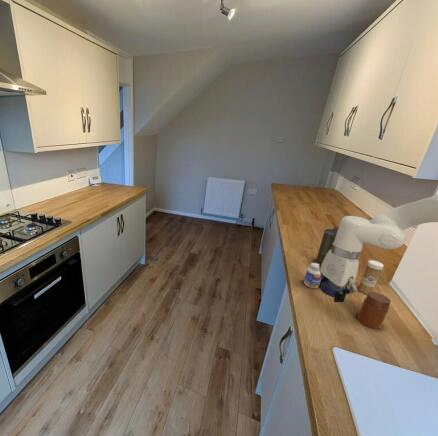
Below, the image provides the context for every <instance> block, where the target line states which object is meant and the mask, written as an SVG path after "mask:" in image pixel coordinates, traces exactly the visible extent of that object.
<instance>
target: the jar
mask: <svg viewBox="0 0 438 436" xmlns="http://www.w3.org/2000/svg"><path fill="white" fill-rule="evenodd" d="M366 294H367V293H366ZM391 303H392V301H391V299H390V298H389V297H388V296H386V295H384V294H382V293H379V292H376V291H372V292H369V293H368V294H367V295H366V297H364V299H363V302H362V305H361V307H360V309H359V312H358V314H357V320H358V321H359V322H360V323H361V324H362V325H364V326H366V327H368V328H371V329H376V330H377V329H381V328H382V326H383V324H384V321H385V319H386V317H387V315H388V312H389V310H390V305H391Z"/></svg>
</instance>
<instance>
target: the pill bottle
mask: <svg viewBox="0 0 438 436" xmlns="http://www.w3.org/2000/svg"><path fill="white" fill-rule="evenodd" d="M319 265H320V264H317V263H315V262H311V263H310V265H309V267H307V269H306V273H305V276H304V279H303V284H304V285H305V286H306V287H308V288H311V289H317V288H318V289H319V284H320V281H321V278H320V276H321V274H320V268H319Z"/></svg>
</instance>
